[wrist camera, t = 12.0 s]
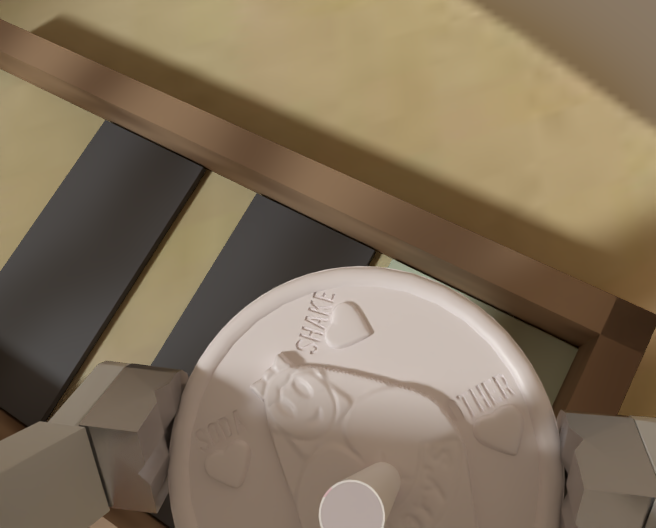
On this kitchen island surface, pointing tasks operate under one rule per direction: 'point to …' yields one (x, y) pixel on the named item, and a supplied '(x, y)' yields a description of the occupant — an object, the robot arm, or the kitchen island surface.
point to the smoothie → (364, 414)
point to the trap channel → (252, 251)
